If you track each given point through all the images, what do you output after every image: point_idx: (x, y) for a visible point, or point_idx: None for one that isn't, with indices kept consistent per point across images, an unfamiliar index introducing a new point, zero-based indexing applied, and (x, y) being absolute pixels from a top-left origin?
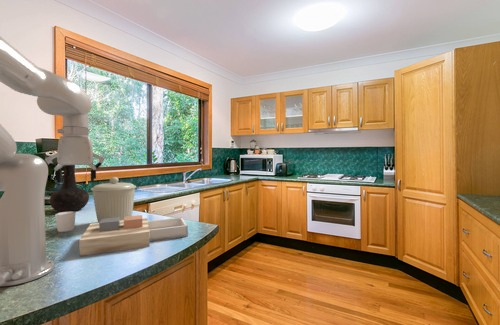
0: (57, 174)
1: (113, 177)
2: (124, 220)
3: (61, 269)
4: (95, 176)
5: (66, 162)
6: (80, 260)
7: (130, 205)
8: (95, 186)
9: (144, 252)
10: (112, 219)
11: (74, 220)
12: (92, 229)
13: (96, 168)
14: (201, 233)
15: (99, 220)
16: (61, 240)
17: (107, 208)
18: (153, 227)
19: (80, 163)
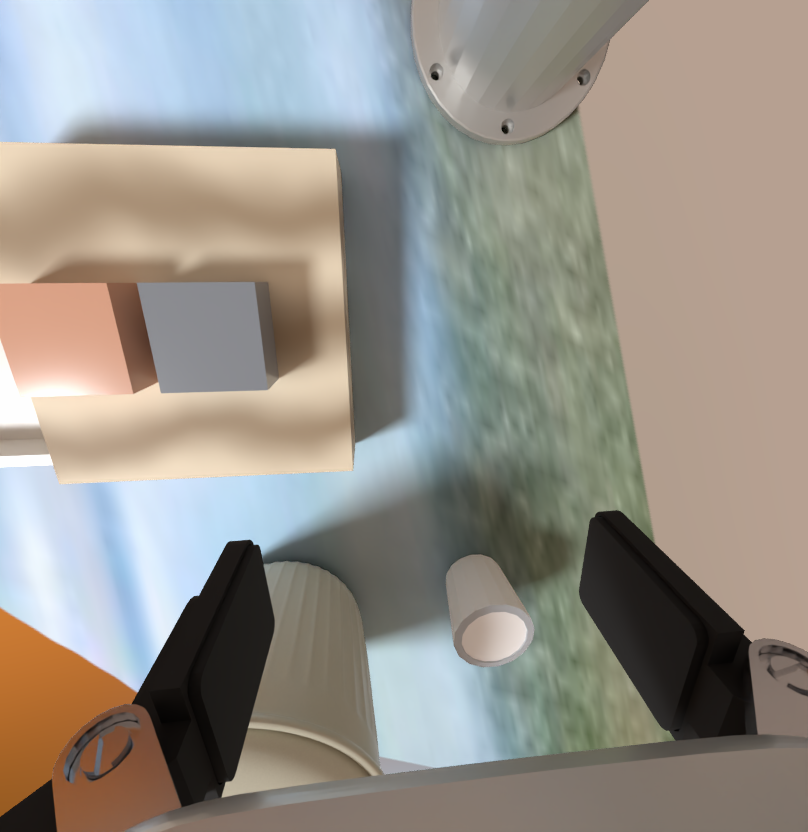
0: (690, 580)
1: None
2: (102, 283)
3: (378, 17)
4: (183, 614)
5: (767, 823)
6: (325, 107)
7: None
8: None
9: (29, 70)
10: (193, 345)
11: (450, 605)
12: (316, 347)
13: (75, 768)
14: None
15: (346, 593)
16: (461, 436)
17: (290, 617)
18: None
19: (353, 819)
